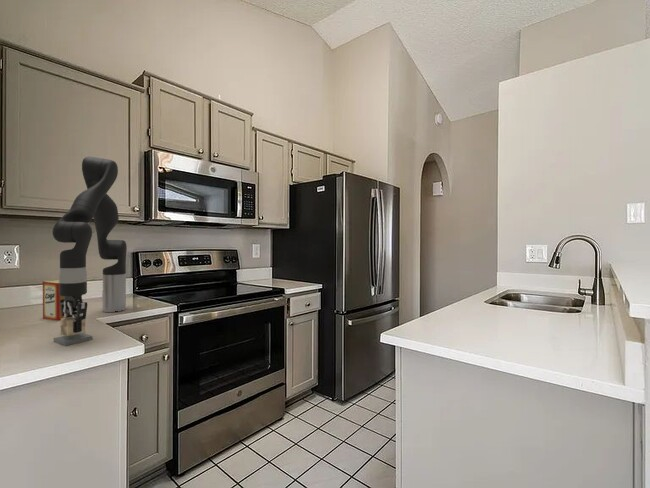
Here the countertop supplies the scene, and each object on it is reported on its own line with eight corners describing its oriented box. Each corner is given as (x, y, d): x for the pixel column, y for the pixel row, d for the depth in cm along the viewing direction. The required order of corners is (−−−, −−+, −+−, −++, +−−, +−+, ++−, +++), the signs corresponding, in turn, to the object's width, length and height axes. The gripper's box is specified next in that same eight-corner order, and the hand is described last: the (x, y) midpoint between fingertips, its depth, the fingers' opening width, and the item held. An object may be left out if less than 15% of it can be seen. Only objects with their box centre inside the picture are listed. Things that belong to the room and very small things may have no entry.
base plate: (53, 341, 110) (53, 338, 110) (80, 335, 117) (80, 332, 117) (65, 345, 106) (64, 342, 106) (92, 339, 113) (92, 335, 113)
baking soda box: (74, 317, 142) (74, 280, 141) (57, 320, 135) (57, 282, 135) (60, 315, 145) (59, 278, 144) (42, 318, 139) (42, 280, 138)
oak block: (60, 333, 110) (60, 318, 110) (77, 329, 115) (77, 315, 114) (68, 335, 108) (67, 320, 108) (85, 332, 112) (85, 317, 112)
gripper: (96, 281, 110) (96, 331, 111) (75, 278, 118) (75, 325, 118) (70, 284, 104) (70, 337, 104) (50, 280, 111) (50, 330, 111)
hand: (73, 330), depth 111 cm, fingers closed on oak block, 5 cm apart
